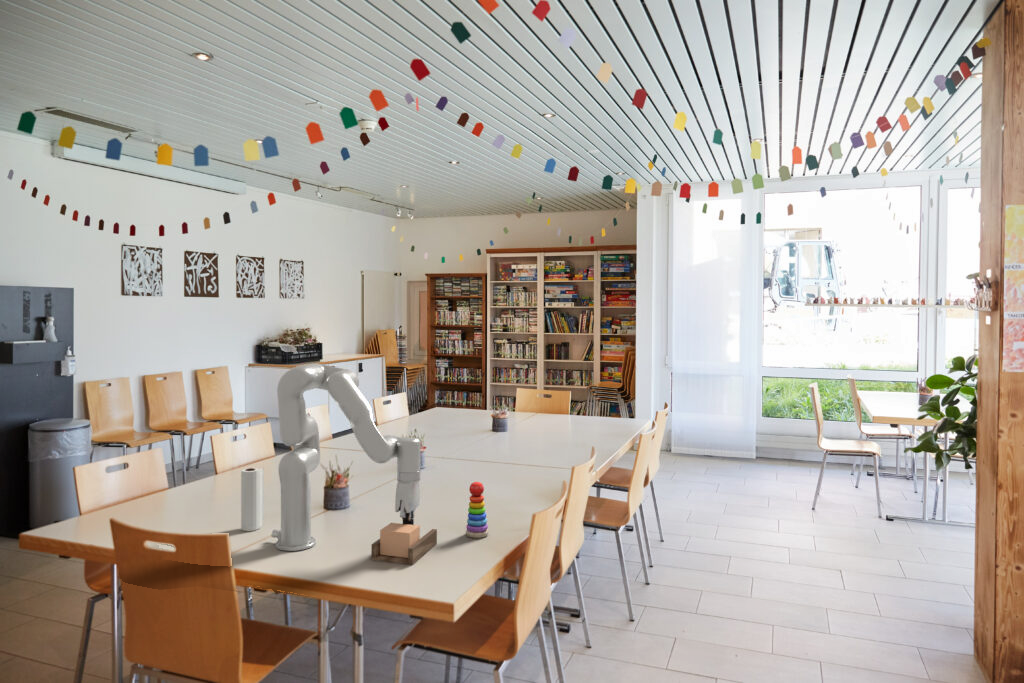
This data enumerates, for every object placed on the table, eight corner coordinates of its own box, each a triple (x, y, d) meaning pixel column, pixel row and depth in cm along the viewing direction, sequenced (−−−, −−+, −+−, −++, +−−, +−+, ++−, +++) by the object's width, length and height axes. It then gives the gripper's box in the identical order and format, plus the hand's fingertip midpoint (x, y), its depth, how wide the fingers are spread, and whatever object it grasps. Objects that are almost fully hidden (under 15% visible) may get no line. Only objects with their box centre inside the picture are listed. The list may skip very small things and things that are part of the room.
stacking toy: (488, 531, 243) (489, 479, 242) (488, 538, 235) (489, 485, 234) (466, 531, 242) (466, 479, 242) (465, 538, 234) (466, 484, 234)
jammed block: (380, 554, 214) (380, 530, 214) (391, 546, 222) (391, 522, 222) (409, 558, 212) (409, 533, 211) (419, 549, 219) (419, 525, 219)
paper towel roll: (240, 532, 237) (240, 471, 237) (242, 527, 243) (242, 467, 242) (262, 530, 239) (262, 470, 239) (263, 525, 245) (263, 466, 244)
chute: (371, 560, 213) (371, 544, 213) (398, 539, 232) (398, 525, 232) (412, 565, 209) (413, 548, 209) (436, 544, 228) (436, 529, 228)
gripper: (407, 470, 230) (406, 523, 231) (388, 480, 216) (387, 537, 216) (427, 471, 228) (427, 525, 229) (410, 482, 214) (409, 539, 214)
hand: (408, 531), depth 223 cm, fingers closed
